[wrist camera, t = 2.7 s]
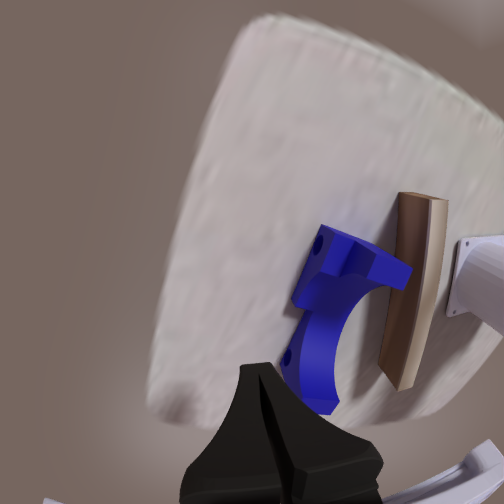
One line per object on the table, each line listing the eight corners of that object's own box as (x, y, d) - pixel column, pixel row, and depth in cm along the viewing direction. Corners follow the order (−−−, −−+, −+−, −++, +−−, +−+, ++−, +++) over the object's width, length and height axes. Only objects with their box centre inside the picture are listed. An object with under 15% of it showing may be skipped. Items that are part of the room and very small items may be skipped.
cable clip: (320, 223, 21) (355, 245, 15) (370, 242, 22) (413, 268, 16) (262, 359, 24) (274, 409, 18) (310, 368, 25) (330, 415, 19)
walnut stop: (414, 192, 21) (448, 200, 17) (391, 360, 25) (412, 387, 21) (398, 192, 21) (432, 200, 17) (377, 364, 25) (397, 391, 21)
